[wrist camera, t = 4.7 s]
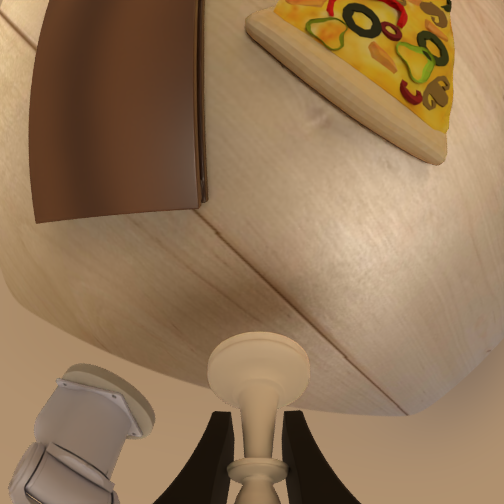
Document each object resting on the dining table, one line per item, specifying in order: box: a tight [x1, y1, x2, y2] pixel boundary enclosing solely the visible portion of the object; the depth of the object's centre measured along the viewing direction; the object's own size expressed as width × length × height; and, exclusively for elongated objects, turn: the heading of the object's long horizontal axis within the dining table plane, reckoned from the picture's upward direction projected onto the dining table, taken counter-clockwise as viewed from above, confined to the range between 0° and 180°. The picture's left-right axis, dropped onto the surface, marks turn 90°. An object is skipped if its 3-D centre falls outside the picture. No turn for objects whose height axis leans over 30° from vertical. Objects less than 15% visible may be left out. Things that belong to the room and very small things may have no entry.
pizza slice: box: [245, 0, 455, 166], centre depth 11 cm, size 16×21×3 cm
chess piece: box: [207, 331, 310, 504], centre depth 8 cm, size 5×5×10 cm
